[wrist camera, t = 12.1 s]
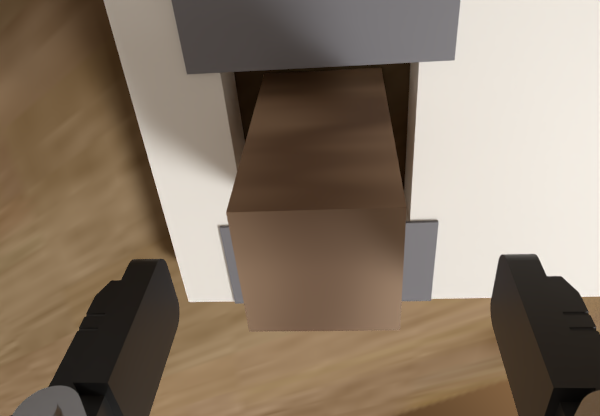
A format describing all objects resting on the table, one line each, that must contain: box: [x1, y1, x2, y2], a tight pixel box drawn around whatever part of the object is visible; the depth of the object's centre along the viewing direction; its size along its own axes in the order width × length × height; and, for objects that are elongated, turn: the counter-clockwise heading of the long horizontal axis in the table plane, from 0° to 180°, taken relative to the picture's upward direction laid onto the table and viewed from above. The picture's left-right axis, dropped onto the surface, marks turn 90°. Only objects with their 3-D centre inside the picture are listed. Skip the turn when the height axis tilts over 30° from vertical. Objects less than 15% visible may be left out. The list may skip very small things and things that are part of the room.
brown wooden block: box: [226, 67, 407, 331], centre depth 16 cm, size 4×4×8 cm
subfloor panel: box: [103, 0, 600, 303], centre depth 18 cm, size 18×14×2 cm
